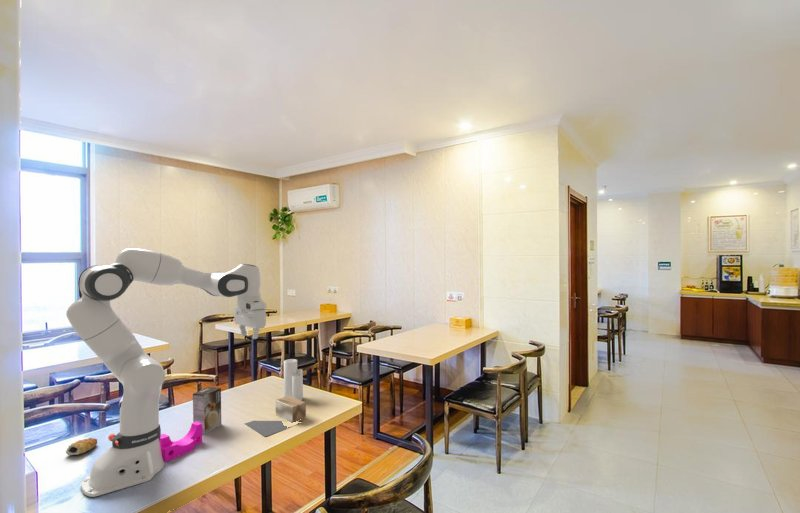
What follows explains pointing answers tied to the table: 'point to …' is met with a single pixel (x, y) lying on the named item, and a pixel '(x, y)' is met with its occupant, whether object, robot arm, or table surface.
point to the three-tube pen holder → (293, 379)
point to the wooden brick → (290, 409)
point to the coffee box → (207, 408)
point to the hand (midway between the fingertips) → (249, 337)
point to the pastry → (81, 446)
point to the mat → (266, 427)
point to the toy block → (181, 443)
